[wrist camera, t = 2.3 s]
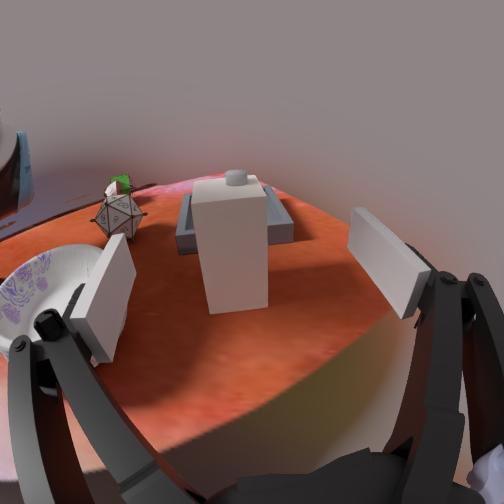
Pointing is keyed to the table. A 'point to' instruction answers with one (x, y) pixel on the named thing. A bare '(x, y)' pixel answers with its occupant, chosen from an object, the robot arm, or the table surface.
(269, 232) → the tray
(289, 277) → the table surface
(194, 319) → the table surface
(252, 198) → the carton
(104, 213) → the game die
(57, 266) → the white round bowl
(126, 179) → the geometric puzzle
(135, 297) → the table surface
